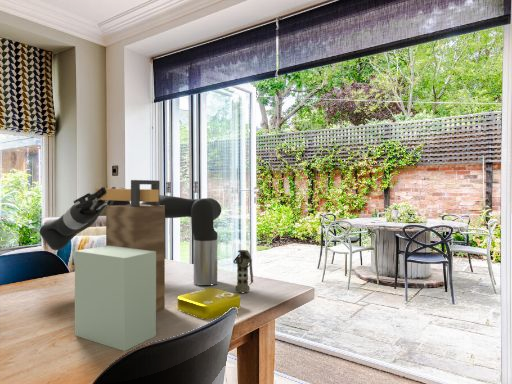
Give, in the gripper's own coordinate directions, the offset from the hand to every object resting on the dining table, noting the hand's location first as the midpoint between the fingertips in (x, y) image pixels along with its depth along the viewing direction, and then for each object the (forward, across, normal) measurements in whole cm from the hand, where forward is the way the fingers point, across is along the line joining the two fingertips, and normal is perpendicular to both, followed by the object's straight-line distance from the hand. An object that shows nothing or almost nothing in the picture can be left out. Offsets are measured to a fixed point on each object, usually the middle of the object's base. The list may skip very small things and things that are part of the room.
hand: (110, 189), depth 118 cm
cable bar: (+5, 0, +6) cm, 8 cm away
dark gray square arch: (+11, 0, +12) cm, 16 cm away
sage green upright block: (0, -16, +42) cm, 45 cm away
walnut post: (-8, 0, +38) cm, 39 cm away
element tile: (+7, +13, +47) cm, 49 cm away
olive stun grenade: (+8, +33, +47) cm, 58 cm away
